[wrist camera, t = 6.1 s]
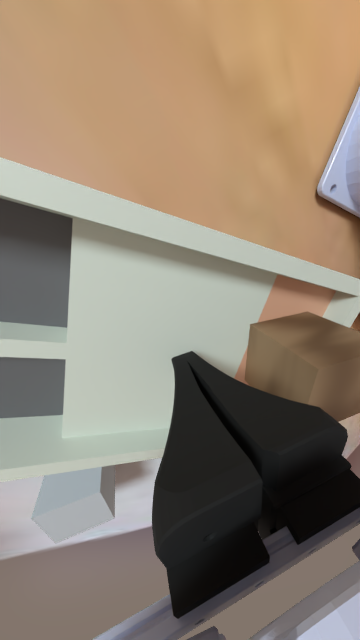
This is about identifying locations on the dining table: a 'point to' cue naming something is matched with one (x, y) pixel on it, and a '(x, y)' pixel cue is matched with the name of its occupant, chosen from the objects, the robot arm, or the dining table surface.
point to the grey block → (75, 501)
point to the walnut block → (306, 362)
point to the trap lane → (123, 318)
